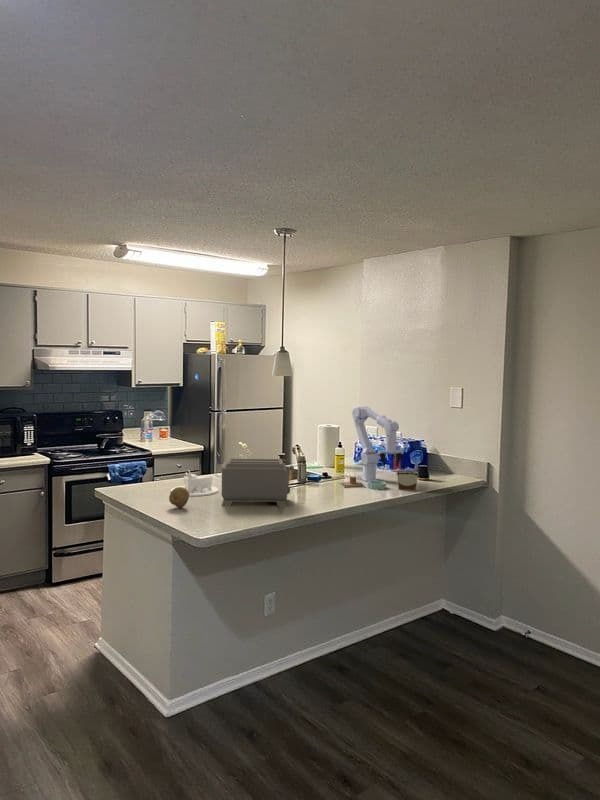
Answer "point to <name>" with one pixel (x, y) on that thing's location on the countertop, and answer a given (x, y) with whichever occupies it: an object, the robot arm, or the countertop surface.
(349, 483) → the lid
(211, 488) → the dish
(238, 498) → the toaster
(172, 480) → the countertop surface
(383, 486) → the bowl
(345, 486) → the mat
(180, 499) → the natural sponge
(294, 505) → the countertop surface
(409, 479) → the food container
